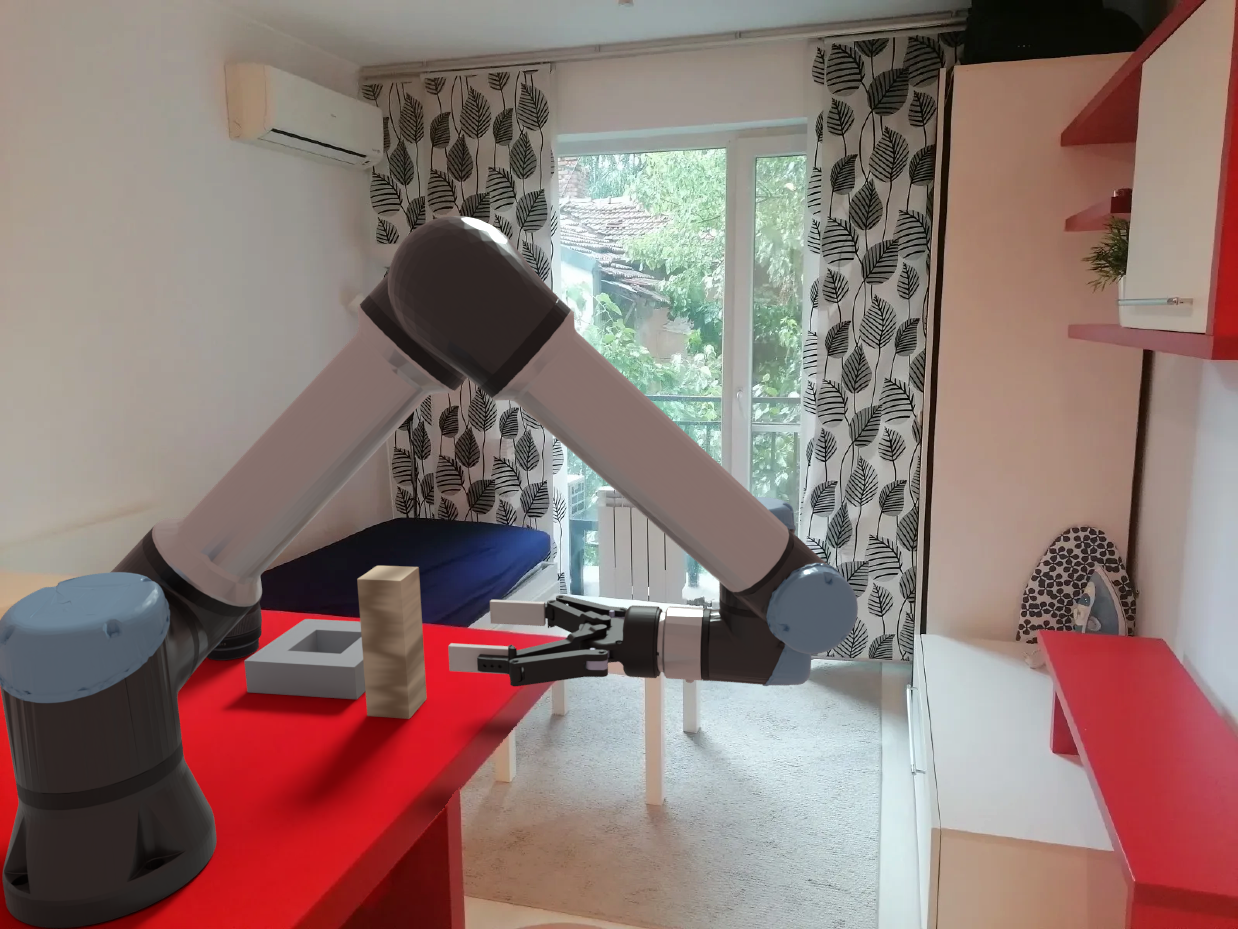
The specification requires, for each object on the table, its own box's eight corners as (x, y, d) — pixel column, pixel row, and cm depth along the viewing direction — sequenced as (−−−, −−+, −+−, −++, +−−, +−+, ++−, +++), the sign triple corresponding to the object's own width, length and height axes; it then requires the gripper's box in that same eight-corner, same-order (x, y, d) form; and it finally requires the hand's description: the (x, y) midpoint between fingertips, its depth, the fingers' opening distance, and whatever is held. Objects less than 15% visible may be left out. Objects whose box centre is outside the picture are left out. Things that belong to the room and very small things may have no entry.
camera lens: (246, 634, 123) (236, 531, 121) (276, 648, 118) (266, 541, 115) (188, 652, 117) (176, 544, 114) (216, 668, 112) (204, 554, 109)
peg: (426, 698, 102) (418, 567, 99) (409, 718, 97) (400, 580, 95) (386, 696, 103) (377, 565, 100) (367, 715, 98) (357, 579, 95)
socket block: (405, 652, 116) (403, 623, 115) (356, 699, 102) (354, 667, 102) (307, 647, 118) (305, 619, 118) (247, 692, 105) (244, 660, 104)
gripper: (646, 731, 82) (431, 716, 86) (675, 632, 106) (506, 624, 110) (646, 655, 81) (427, 643, 84) (675, 573, 105) (504, 566, 108)
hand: (471, 632), depth 97 cm, fingers open, 13 cm apart
